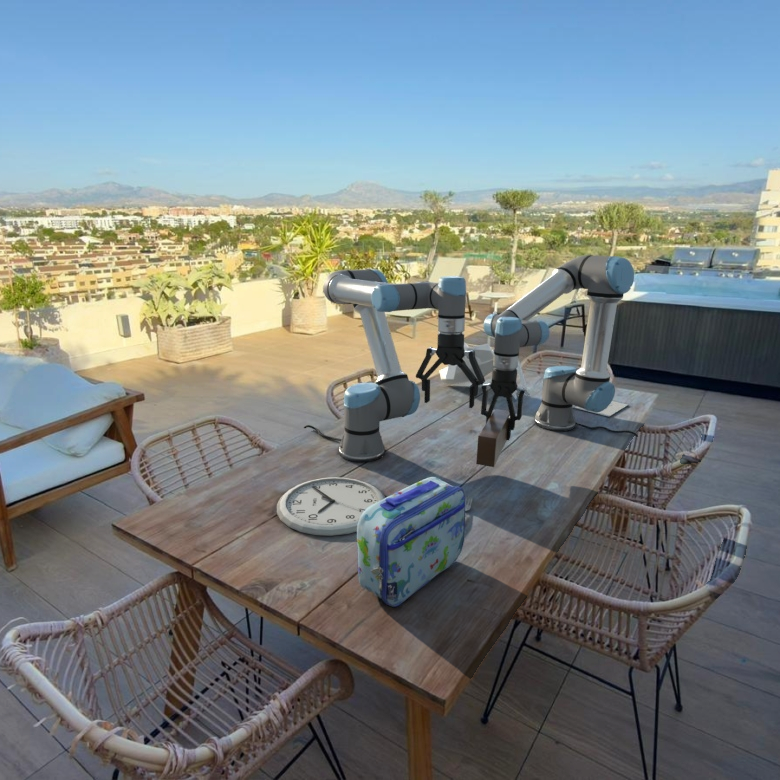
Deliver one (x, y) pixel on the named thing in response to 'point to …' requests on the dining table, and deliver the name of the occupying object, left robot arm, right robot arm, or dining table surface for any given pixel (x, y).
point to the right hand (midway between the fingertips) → (499, 437)
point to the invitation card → (608, 409)
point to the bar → (492, 438)
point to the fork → (467, 507)
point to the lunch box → (410, 539)
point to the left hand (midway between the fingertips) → (449, 404)
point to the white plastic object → (485, 363)
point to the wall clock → (327, 505)
